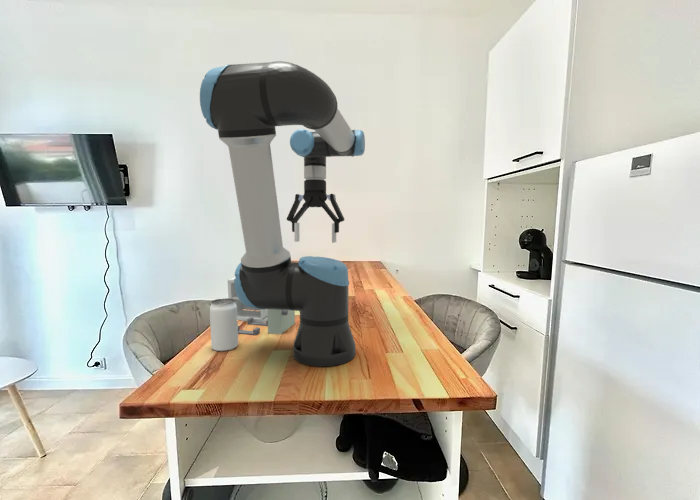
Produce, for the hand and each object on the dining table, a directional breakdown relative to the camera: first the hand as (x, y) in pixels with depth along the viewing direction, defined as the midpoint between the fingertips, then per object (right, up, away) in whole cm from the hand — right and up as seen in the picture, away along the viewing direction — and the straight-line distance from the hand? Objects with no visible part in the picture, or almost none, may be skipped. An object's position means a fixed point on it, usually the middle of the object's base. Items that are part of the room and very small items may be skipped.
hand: (315, 242), depth 122 cm
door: (-8, -26, -18) cm, 32 cm away
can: (-20, -28, -32) cm, 47 cm away
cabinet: (-19, -25, -13) cm, 34 cm away
